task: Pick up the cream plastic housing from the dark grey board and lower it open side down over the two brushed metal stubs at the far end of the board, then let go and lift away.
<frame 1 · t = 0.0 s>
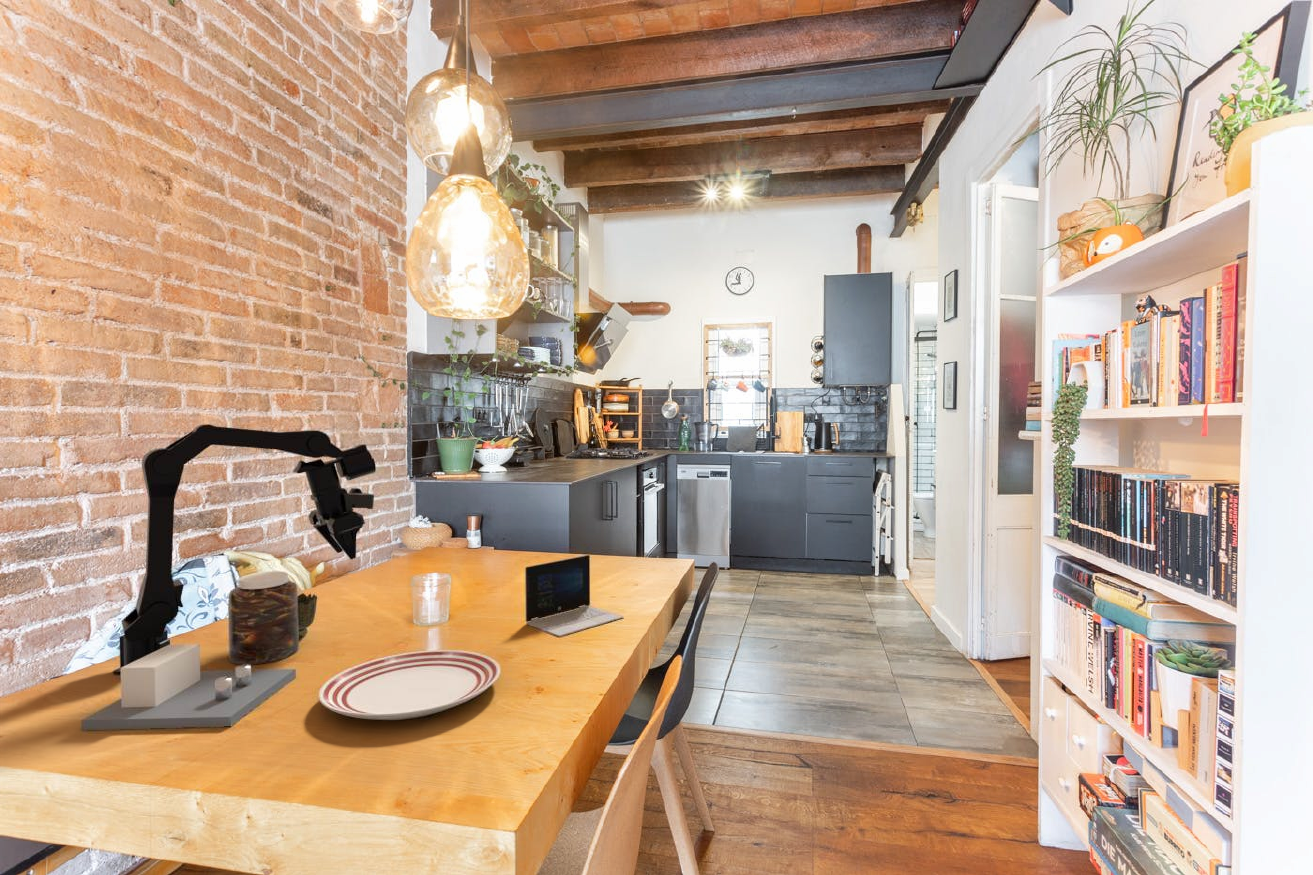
hand: (346, 555, 138), 15 cm above the table, tool pointing down, fingers open, 9 cm apart
dinner plate: (414, 697, 103), on the table
jar: (265, 654, 122), on the table
stubs: (234, 700, 101), resting on board
housing: (162, 692, 101), point 1 cm above the table, touching board
cup: (297, 637, 132), on the table
laptop: (575, 623, 141), on the table
board: (198, 701, 101), on the table
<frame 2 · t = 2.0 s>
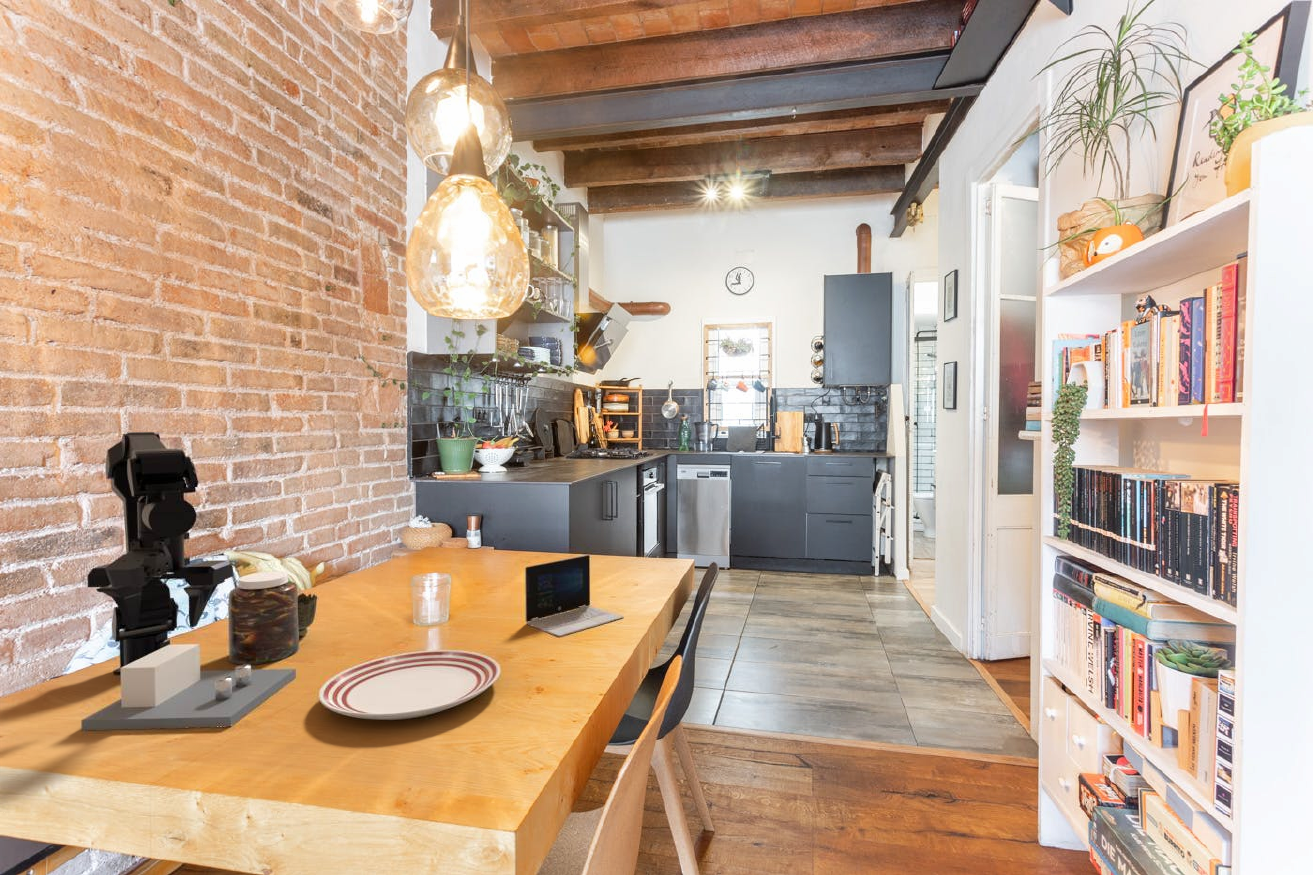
hand: (163, 627, 101), 12 cm above the table, tool pointing down, fingers open, 9 cm apart
nothing on the table moved.
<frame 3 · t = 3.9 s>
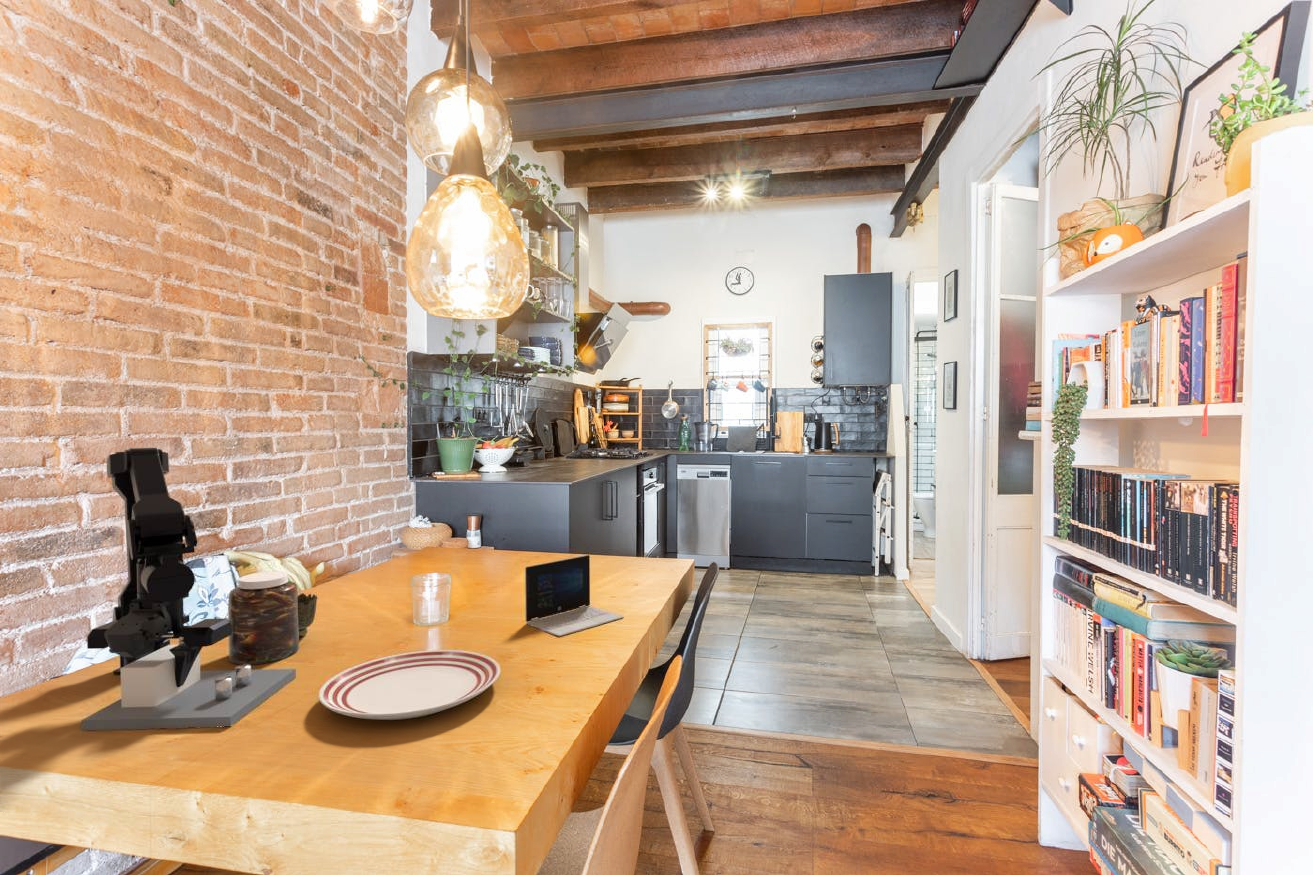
hand: (162, 686, 101), 3 cm above the table, tool pointing down, fingers closed on housing, 5 cm apart
housing: (162, 692, 101), point 1 cm above the table, touching board, gripper
everything else where it was.
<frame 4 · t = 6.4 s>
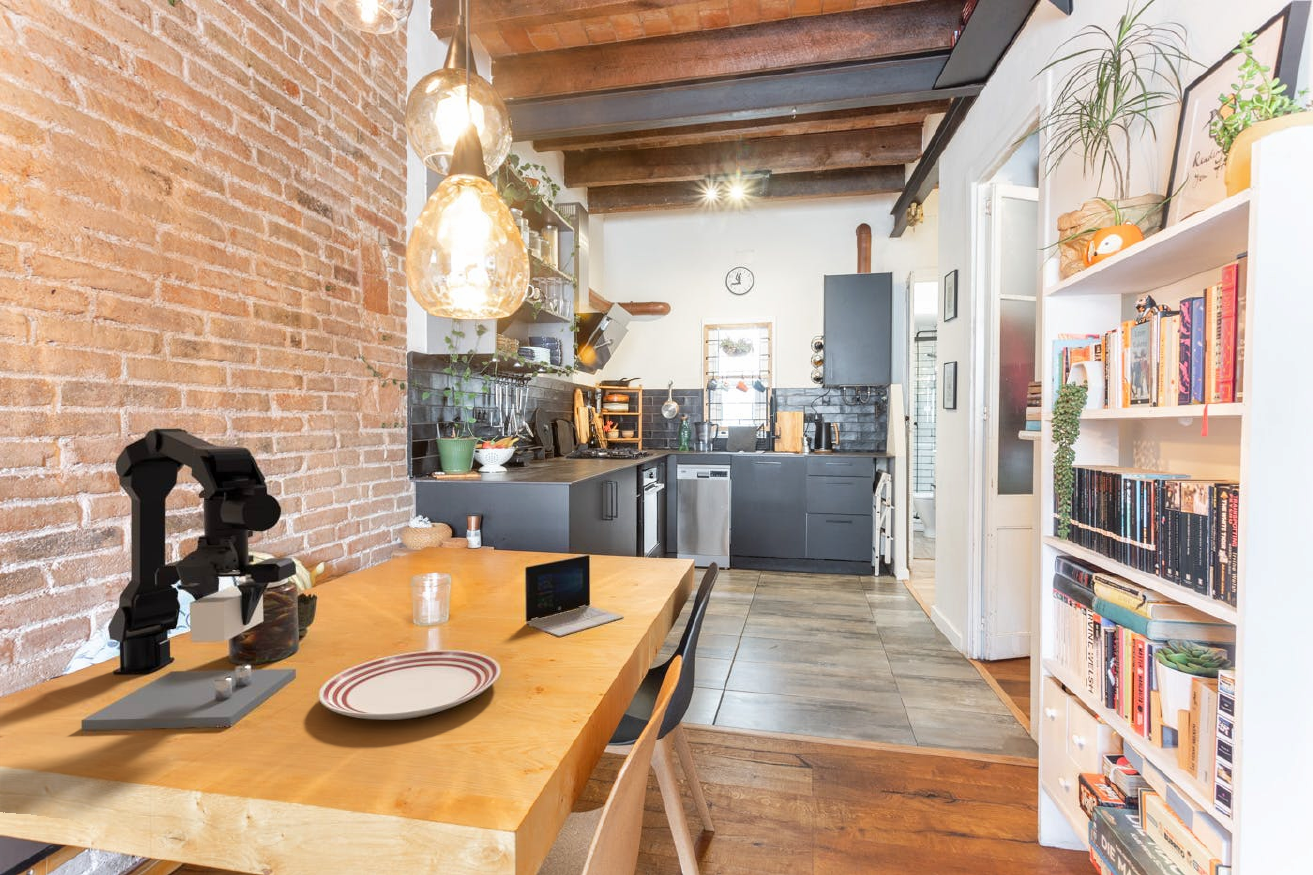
hand: (228, 624, 101), 12 cm above the table, tool pointing down, fingers closed on housing, 5 cm apart
housing: (228, 631, 101), point 11 cm above the table, touching gripper
everything else where it was.
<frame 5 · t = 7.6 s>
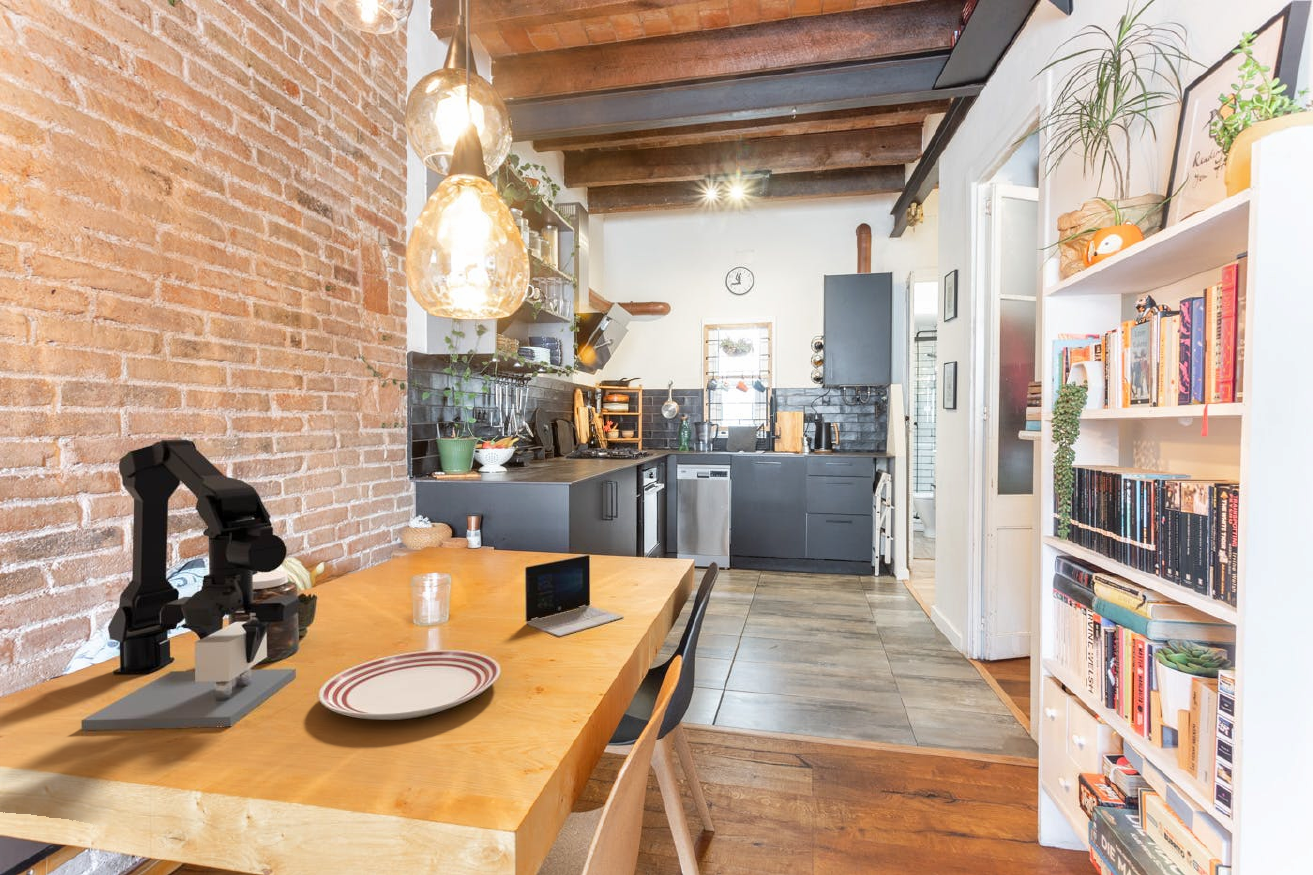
hand: (232, 662, 101), 6 cm above the table, tool pointing down, fingers closed on housing, 5 cm apart
housing: (232, 668, 101), point 5 cm above the table, touching gripper
everything else where it was.
when the fingers open (3 cm above the table, at t = 8.7 s): housing stays where it is, resting on board.
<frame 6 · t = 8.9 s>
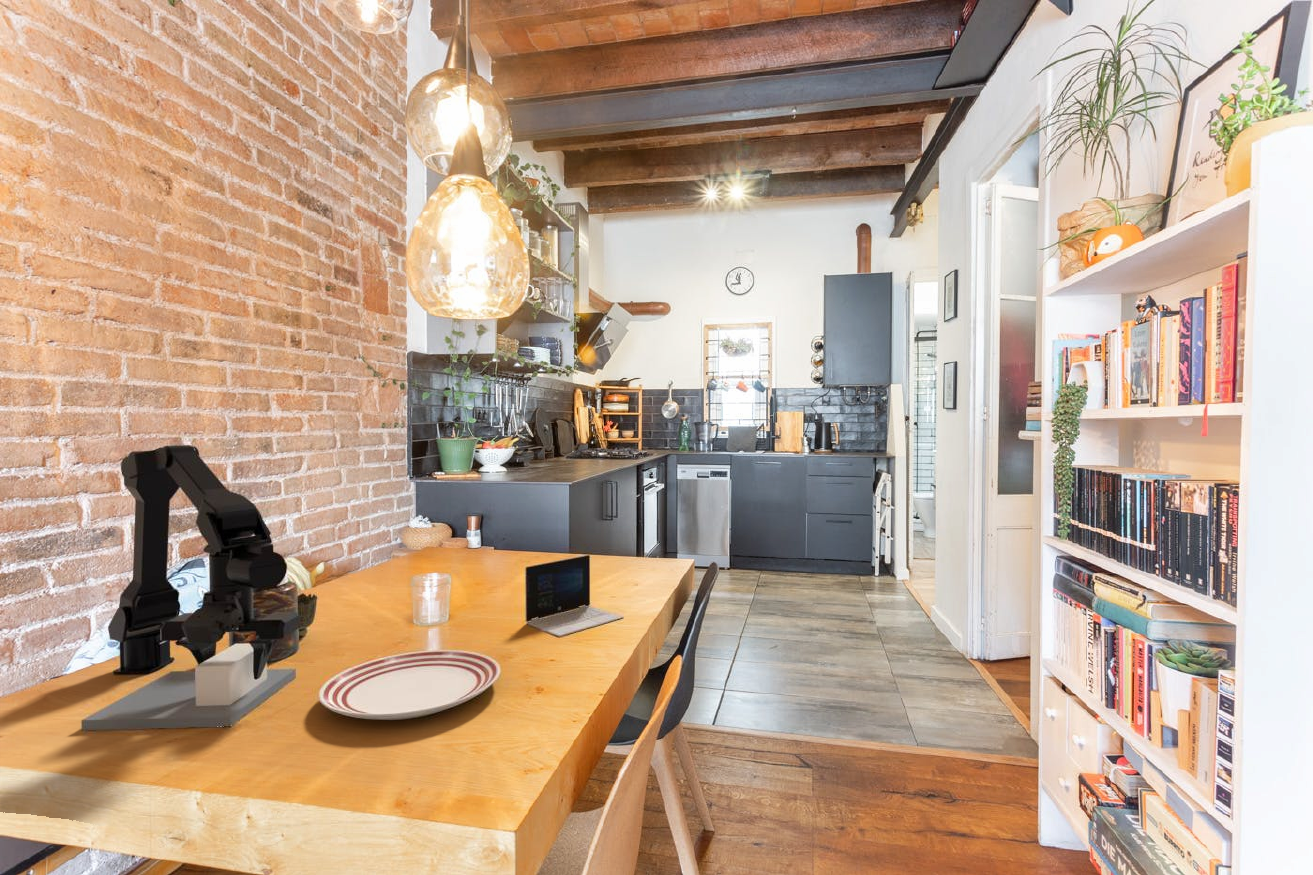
hand: (233, 679, 101), 3 cm above the table, tool pointing down, fingers open, 7 cm apart
housing: (233, 691, 101), point 1 cm above the table, touching board
everything else where it was.
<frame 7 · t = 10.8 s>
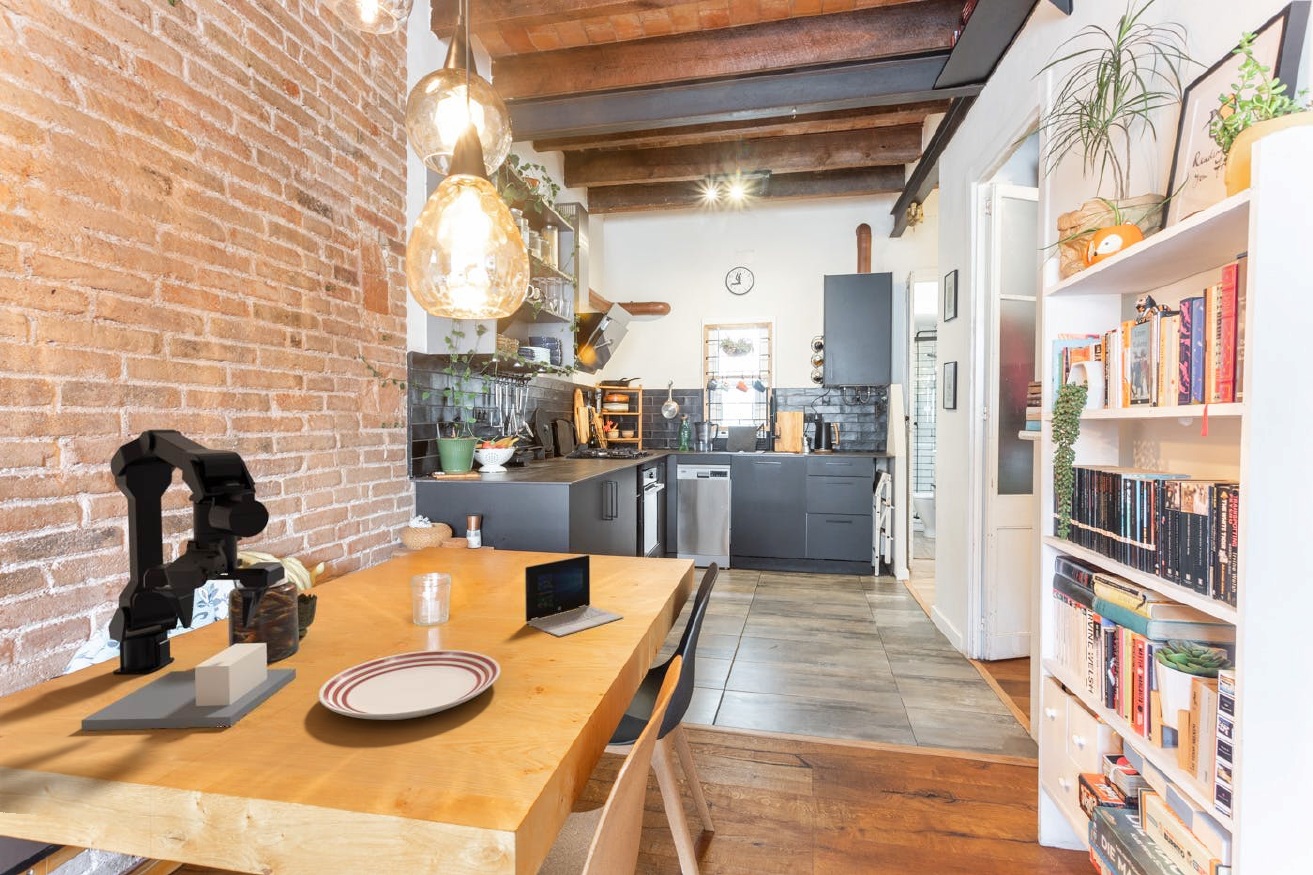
hand: (216, 627, 102), 12 cm above the table, tool pointing down, fingers open, 9 cm apart
nothing on the table moved.
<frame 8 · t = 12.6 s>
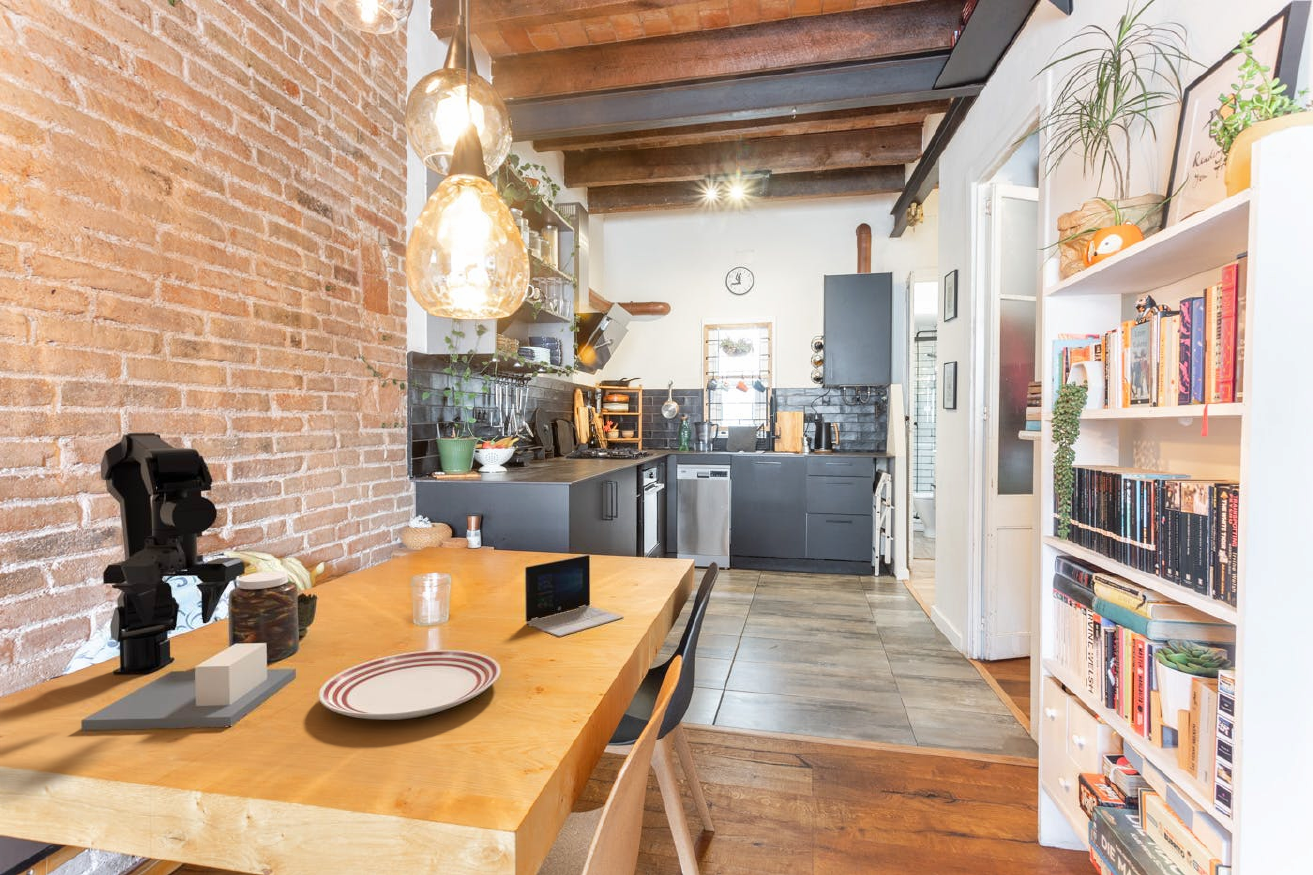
hand: (176, 623, 103), 12 cm above the table, tool pointing down, fingers open, 9 cm apart
nothing on the table moved.
at the end: housing 0.1 cm from the target spot on the board, point 1.5 cm above the board's base; housing tilted 0°; the gripper is holding nothing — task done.
